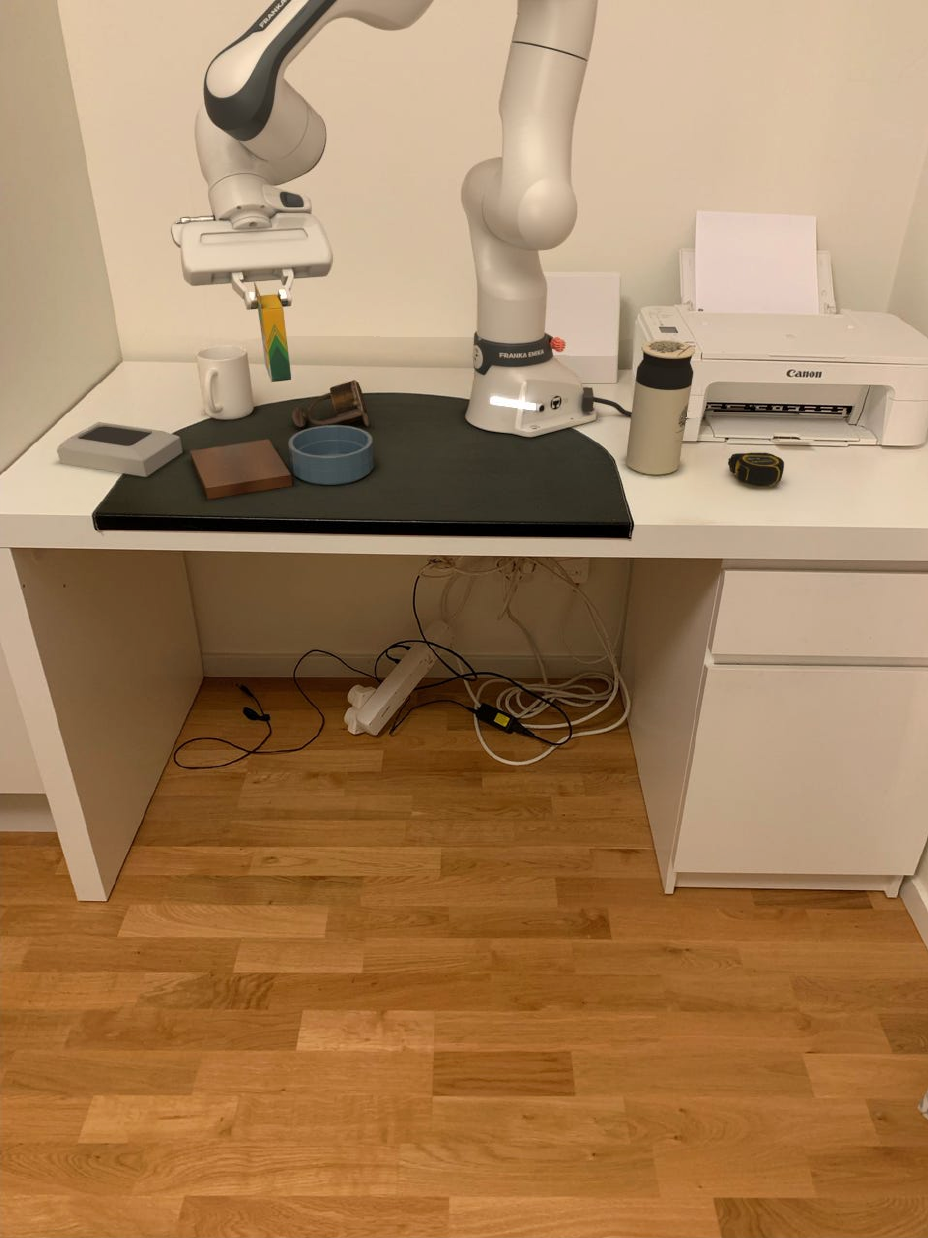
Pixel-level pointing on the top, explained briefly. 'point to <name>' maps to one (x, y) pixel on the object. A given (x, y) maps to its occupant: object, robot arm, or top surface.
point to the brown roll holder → (337, 406)
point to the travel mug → (660, 407)
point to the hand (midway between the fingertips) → (269, 305)
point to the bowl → (331, 454)
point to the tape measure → (757, 468)
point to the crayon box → (273, 337)
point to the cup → (225, 381)
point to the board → (240, 469)
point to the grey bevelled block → (120, 449)
